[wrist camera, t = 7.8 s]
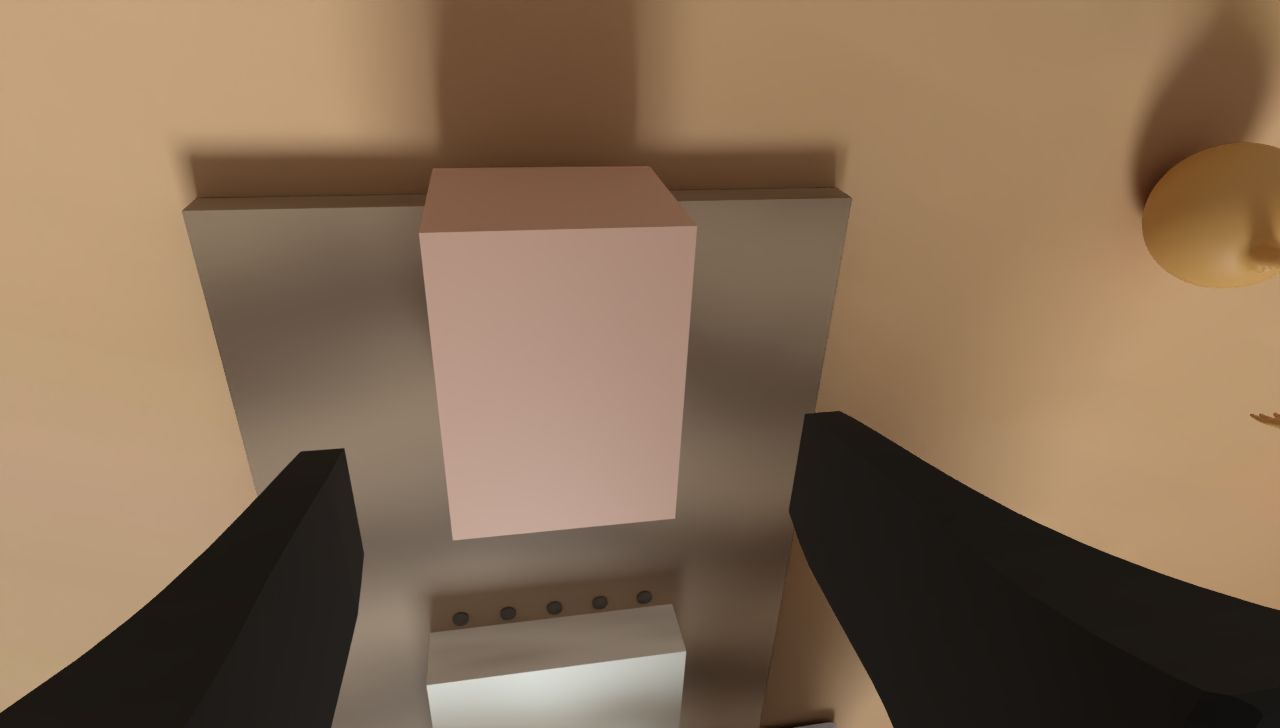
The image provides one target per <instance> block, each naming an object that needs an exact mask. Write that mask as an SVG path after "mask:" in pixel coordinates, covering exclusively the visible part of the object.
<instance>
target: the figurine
mask: <svg viewBox="0 0 1280 728" xmlns="http://www.w3.org/2000/svg"><path fill="white" fill-rule="evenodd" d="M1142 231H1143V237H1144V240H1145V243H1146V246H1147V248H1148V250H1149V252H1150V254H1151V255H1152V257H1153V258H1154V260H1155V261H1156V262H1157V263H1158V264H1159V265H1160V266H1161V267H1162V268H1163V269H1164V270H1166V271H1167V272H1168V273H1170V274H1171V275H1173V276H1175V277H1176V278H1178V279H1180V280H1182V281H1185V282H1187V283H1190V284H1194V285H1197V286H1202V287H1208V288H1237V287H1243V286H1248V285H1252V284H1256V283H1259V282H1262V281H1265V280H1267V279H1270V278H1272V277H1274V276H1276V275H1278V274H1280V149H1279V148H1277V147H1273V146H1270V145H1265V144H1259V143H1230V144H1224V145H1219V146H1215V147H1211V148H1208V149H1205V150H1202V151H1200V152H1197V153H1195V154H1193V155H1191V156H1189V157H1187V158H1186V159H1184V160H1182V161H1181V162H1179V163H1178V164H1176V165H1175V166H1174V167H1173V168H1171V169H1170V170H1169V171H1168V172H1167V173H1166V174H1165V175H1164V176H1163V177H1162V178H1161V179H1160V180H1159V181H1158V183H1157V184H1156V185H1155V187H1154V188H1153V190H1152V192H1151V193H1150V195H1149V197H1148V199H1147V202H1146V205H1145V208H1144V212H1143V218H1142ZM1273 415H1274V417H1275V418H1272V417H1269V416H1265V415H1263V414H1259V416H1260V417H1259V416H1257V415H1254V414H1250V416H1251V417H1252V418H1254V419H1255V420H1257V421H1259V422H1261V423H1264V424H1266V425H1269V426H1273V427H1276V428H1279V429H1280V415H1279V414H1278V413H1273Z"/></svg>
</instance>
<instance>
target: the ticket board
mask: <svg viewBox="0 0 1280 728" xmlns="http://www.w3.org/2000/svg"><path fill="white" fill-rule="evenodd" d="M669 191H670V192H671V194H672V195H673V196H674V197H675V199H676V200H677V201H678V202H679V204H680V205H681V206H682V207H683V209H684V210H685V211H686V213H687V214H688V215H689V216H690V218H691V219H692V220H693V221H694V223H695V224H696V225H697V235H696V248H695V261H694V274H693V288H692V301H691V314H690V328H689V341H688V354H687V367H686V381H685V394H684V407H683V420H682V434H681V447H680V460H679V474H678V487H677V500H676V513H675V519H666V520H656V521H646V522H635V523H625V524H615V525H605V526H595V527H585V528H574V529H564V530H554V531H544V532H534V533H524V534H514V535H503V536H493V537H483V538H473V539H463V540H453V538H452V529H451V520H450V511H449V501H448V492H447V483H446V474H445V465H444V456H443V447H442V438H441V429H440V420H439V411H438V402H437V393H436V384H435V375H434V366H433V356H432V347H431V338H430V329H429V320H428V311H427V302H426V293H425V284H424V275H423V266H422V257H421V248H420V239H419V230H420V225H421V221H422V216H423V211H424V206H425V202H426V197H427V194H416V195H355V196H295V197H234V198H196V199H195V200H194V201H193V202H192V203H190V204H189V205H188V206H187V207H186V208H185V209H184V210H182V213H183V217H184V221H185V224H186V228H187V232H188V236H189V240H190V243H191V247H192V251H193V255H194V258H195V262H196V266H197V270H198V274H199V277H200V281H201V285H202V289H203V292H204V296H205V300H206V304H207V308H208V311H209V315H210V319H211V323H212V326H213V330H214V334H215V338H216V341H217V345H218V349H219V353H220V357H221V360H222V364H223V368H224V372H225V375H226V379H227V383H228V387H229V391H230V394H231V398H232V402H233V406H234V409H235V413H236V417H237V421H238V425H239V428H240V432H241V436H242V440H243V443H244V447H245V451H246V455H247V459H248V462H249V466H250V470H251V474H252V477H253V481H254V485H255V489H256V493H257V496H259V495H260V494H261V493H262V492H263V491H264V490H265V488H266V487H267V486H268V485H269V484H270V483H271V482H272V481H273V480H274V479H275V478H276V477H277V476H278V474H279V473H280V472H281V471H282V470H283V469H284V468H285V467H286V466H287V465H288V464H289V463H290V462H291V461H292V460H293V459H294V458H295V457H296V456H297V455H298V454H299V453H300V452H301V451H312V450H326V449H339V448H345V454H346V459H347V464H348V470H349V475H350V480H351V486H352V491H353V496H354V502H355V507H356V512H357V518H358V523H359V529H360V534H361V539H362V545H363V550H364V561H363V571H362V582H361V591H360V600H359V609H358V616H357V621H356V625H355V630H354V634H353V638H352V643H351V647H350V651H349V655H348V660H347V664H346V668H345V672H344V676H343V681H342V685H341V689H340V693H339V697H338V701H337V705H336V710H335V714H334V718H333V722H332V726H331V728H759V726H760V720H761V715H762V709H763V703H764V698H765V692H766V686H767V680H768V675H769V669H770V663H771V658H772V652H773V646H774V640H775V635H776V629H777V623H778V618H779V612H780V606H781V601H782V595H783V589H784V583H785V578H786V572H787V566H788V561H789V555H790V549H791V543H792V538H793V532H794V525H793V523H792V520H791V517H790V514H789V506H790V500H791V494H792V488H793V482H794V476H795V470H796V464H797V458H798V452H799V446H800V440H801V434H802V428H803V422H804V416H805V414H808V413H814V412H815V406H816V401H817V395H818V389H819V384H820V378H821V372H822V366H823V361H824V355H825V349H826V344H827V338H828V332H829V326H830V321H831V315H832V309H833V304H834V298H835V292H836V286H837V281H838V275H839V269H840V264H841V258H842V252H843V246H844V241H845V235H846V229H847V224H848V218H849V212H850V206H851V201H852V198H851V197H850V196H848V195H847V194H845V193H844V192H842V191H841V190H839V189H838V188H779V189H719V190H669Z"/></svg>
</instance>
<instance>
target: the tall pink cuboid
mask: <svg viewBox="0 0 1280 728" xmlns="http://www.w3.org/2000/svg"><path fill="white" fill-rule="evenodd" d="M696 235H697V225H696V224H695V223H694V221H693V220H692V219H691V218H690V216H689V215H688V214H687V213H686V211H685V210H684V209H683V207H682V206H681V205H680V204H679V202H678V201H677V200H676V199H675V197H674V196H673V195H672V194H671V192H670V191H669V190H668V189H667V187H666V186H665V185H664V184H663V182H662V181H661V180H660V179H659V177H658V176H657V175H656V174H655V172H654V171H653V170H652V169H651V167H650V166H599V167H503V168H433V169H432V173H431V178H430V183H429V187H428V192H427V197H426V202H425V206H424V211H423V216H422V221H421V225H420V230H419V239H420V248H421V257H422V266H423V275H424V284H425V293H426V302H427V311H428V320H429V329H430V338H431V347H432V356H433V366H434V375H435V384H436V393H437V402H438V411H439V420H440V429H441V438H442V447H443V456H444V465H445V474H446V483H447V492H448V501H449V511H450V520H451V529H452V538H453V540H463V539H473V538H483V537H493V536H503V535H514V534H524V533H534V532H544V531H554V530H564V529H574V528H585V527H595V526H605V525H615V524H625V523H635V522H646V521H656V520H666V519H675V513H676V500H677V487H678V474H679V460H680V447H681V434H682V420H683V407H684V394H685V381H686V367H687V354H688V341H689V328H690V314H691V301H692V288H693V274H694V261H695V248H696Z"/></svg>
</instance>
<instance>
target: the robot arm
mask: <svg viewBox="0 0 1280 728" xmlns="http://www.w3.org/2000/svg"><path fill="white" fill-rule="evenodd" d="M789 514H790V517H791V520H792V523H793V525H794V528H795V531H796V534H797V537H798V539H799V542H800V545H801V547H802V550H803V552H804V555H805V557H806V560H807V562H808V565H809V567H810V568H811V570H812V572H813V574H814V576H815V578H816V580H817V582H818V584H819V585H820V587H821V589H822V591H823V593H824V595H825V597H826V598H827V600H828V602H829V604H830V606H831V608H832V610H833V611H834V613H835V615H836V617H837V619H838V620H839V622H840V624H841V626H842V628H843V629H844V631H845V633H846V635H847V637H848V639H849V640H850V642H851V644H852V646H853V648H854V649H855V651H856V653H857V655H858V657H859V658H860V660H861V662H862V664H863V666H864V668H865V669H866V671H867V673H868V675H869V677H870V678H871V680H872V682H873V684H874V686H875V688H876V690H877V692H878V694H879V696H880V698H881V700H882V702H883V704H884V706H885V709H886V711H887V713H888V716H889V718H890V720H891V723H892V725H893V727H894V728H1280V610H1276V609H1272V608H1269V607H1265V606H1261V605H1258V604H1254V603H1251V602H1248V601H1244V600H1241V599H1238V598H1235V597H1231V596H1228V595H1225V594H1222V593H1218V592H1215V591H1212V590H1209V589H1205V588H1202V587H1199V586H1196V585H1193V584H1190V583H1187V582H1184V581H1181V580H1178V579H1175V578H1172V577H1169V576H1166V575H1164V574H1161V573H1158V572H1155V571H1153V570H1150V569H1147V568H1145V567H1142V566H1139V565H1137V564H1134V563H1131V562H1129V561H1126V560H1123V559H1121V558H1118V557H1116V556H1113V555H1110V554H1108V553H1105V552H1103V551H1100V550H1098V549H1095V548H1093V547H1091V546H1088V545H1086V544H1083V543H1081V542H1079V541H1076V540H1074V539H1072V538H1070V537H1068V536H1066V535H1063V534H1061V533H1059V532H1057V531H1055V530H1052V529H1050V528H1048V527H1046V526H1044V525H1041V524H1039V523H1037V522H1035V521H1033V520H1031V519H1029V518H1027V517H1025V516H1023V515H1021V514H1018V513H1016V512H1014V511H1013V510H1011V509H1009V508H1007V507H1005V506H1003V505H1001V504H999V503H997V502H996V501H994V500H992V499H990V498H988V497H986V496H984V495H983V494H981V493H979V492H977V491H975V490H973V489H971V488H970V487H968V486H966V485H964V484H963V483H961V482H959V481H957V480H956V479H954V478H952V477H950V476H949V475H947V474H945V473H944V472H942V471H940V470H938V469H937V468H935V467H933V466H932V465H930V464H928V463H927V462H925V461H923V460H922V459H920V458H919V457H917V456H915V455H914V454H912V453H910V452H909V451H907V450H905V449H904V448H902V447H901V446H899V445H897V444H896V443H894V442H892V441H891V440H889V439H888V438H886V437H884V436H883V435H881V434H879V433H878V432H876V431H874V430H873V429H871V428H869V427H868V426H866V425H864V424H863V423H861V422H859V421H857V420H856V419H854V418H852V417H850V416H848V415H846V414H844V413H842V412H840V411H835V412H822V413H808V414H805V416H804V422H803V428H802V434H801V440H800V446H799V452H798V458H797V464H796V470H795V476H794V482H793V488H792V494H791V500H790V506H789ZM363 561H364V550H363V545H362V539H361V534H360V529H359V523H358V518H357V512H356V507H355V502H354V496H353V491H352V486H351V480H350V475H349V470H348V464H347V459H346V454H345V448H339V449H326V450H312V451H301V452H300V453H299V454H298V455H297V456H296V457H295V458H294V459H293V460H292V461H291V462H290V463H289V464H288V465H287V466H286V467H285V468H284V469H283V470H282V471H281V472H280V473H279V474H278V476H277V477H276V478H275V479H274V480H273V481H272V482H271V483H270V484H269V485H268V486H267V487H266V488H265V490H264V491H263V492H262V493H261V494H260V495H259V496H258V497H257V498H256V499H255V500H254V501H253V502H252V503H251V504H250V506H249V507H248V508H247V509H246V510H245V511H244V512H243V513H242V514H241V515H240V516H239V517H238V518H237V519H236V520H235V521H234V522H233V523H232V524H231V525H230V526H229V527H228V528H227V529H226V530H225V531H224V532H223V533H222V534H221V535H220V536H219V537H218V538H217V540H216V541H215V542H214V543H213V544H212V545H211V546H210V547H209V548H208V549H207V550H206V551H204V552H203V553H202V554H201V555H200V556H199V557H198V558H197V559H196V560H195V561H194V562H193V563H192V564H190V565H189V566H188V567H187V568H186V569H185V570H184V571H183V572H182V573H181V574H180V575H179V576H178V577H176V578H175V579H174V580H173V581H172V582H171V583H170V584H169V585H168V586H167V587H166V588H165V589H164V590H163V591H161V592H160V593H159V594H158V595H157V596H156V597H154V598H153V599H152V600H151V601H150V602H149V603H148V604H146V605H145V606H144V607H143V608H142V609H140V610H139V611H138V612H137V613H136V614H134V615H133V616H132V617H131V618H130V619H128V620H127V621H126V622H125V623H123V624H122V625H121V626H119V627H118V628H117V629H116V630H114V631H113V632H112V633H111V634H109V635H108V636H107V637H105V638H104V639H103V640H102V641H100V642H99V643H98V644H97V645H95V646H94V647H93V648H92V649H90V650H89V651H88V652H86V653H85V654H84V655H82V656H81V657H80V658H78V659H77V660H76V661H74V662H73V663H71V664H70V665H68V666H67V667H66V668H64V669H63V670H61V671H60V672H58V673H57V674H56V675H54V676H53V677H51V678H50V679H48V680H47V681H46V682H44V683H43V684H41V685H40V686H38V687H37V688H35V689H34V690H33V691H31V692H30V693H28V694H27V695H25V696H24V697H23V698H21V699H20V700H18V701H17V702H15V703H14V704H13V705H11V706H10V707H8V708H7V709H5V710H4V711H3V712H1V713H0V728H331V726H332V722H333V718H334V714H335V710H336V705H337V701H338V697H339V693H340V689H341V685H342V681H343V676H344V672H345V668H346V664H347V660H348V655H349V651H350V647H351V643H352V638H353V634H354V630H355V625H356V621H357V616H358V609H359V600H360V591H361V582H362V571H363ZM795 728H837V726H836V724H834V723H831V722H827V723H821V724H814V725H808V726H801V727H795Z"/></svg>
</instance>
